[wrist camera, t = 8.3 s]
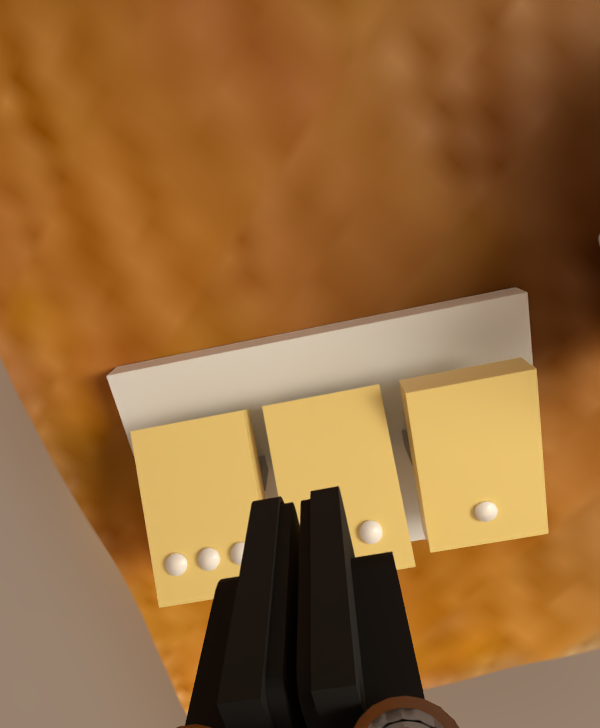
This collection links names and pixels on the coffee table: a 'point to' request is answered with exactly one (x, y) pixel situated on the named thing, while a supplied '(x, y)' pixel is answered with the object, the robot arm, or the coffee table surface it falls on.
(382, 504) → the key
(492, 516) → the key
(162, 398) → the board
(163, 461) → the key
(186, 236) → the coffee table surface
